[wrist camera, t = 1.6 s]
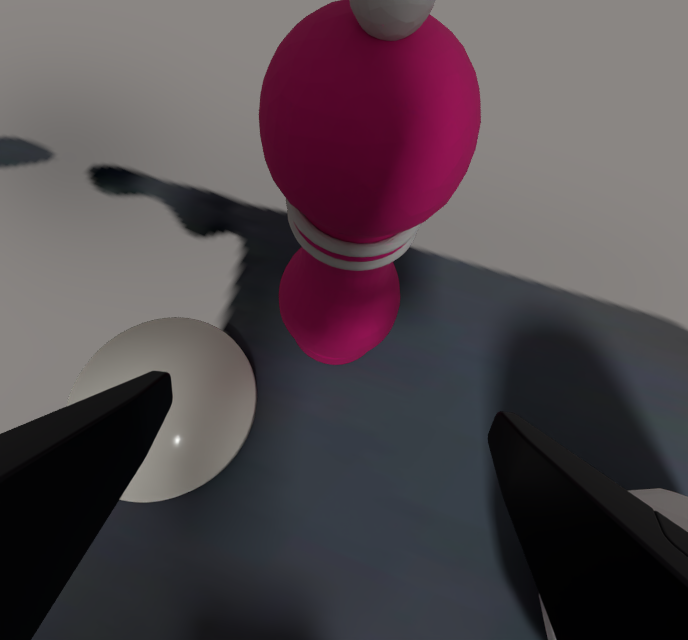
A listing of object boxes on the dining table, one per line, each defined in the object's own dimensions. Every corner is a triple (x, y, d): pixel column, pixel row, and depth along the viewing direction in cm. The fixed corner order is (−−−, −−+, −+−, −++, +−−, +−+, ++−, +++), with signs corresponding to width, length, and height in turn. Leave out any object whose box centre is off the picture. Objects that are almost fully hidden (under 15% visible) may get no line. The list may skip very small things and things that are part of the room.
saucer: (222, 519, 19) (217, 523, 18) (38, 474, 19) (25, 476, 18) (278, 343, 23) (276, 339, 22) (125, 306, 23) (118, 300, 22)
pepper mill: (311, 264, 26) (305, -211, 7) (398, 301, 25) (635, -105, 7) (266, 346, 23) (71, -62, 5) (361, 389, 23) (580, 130, 4)
